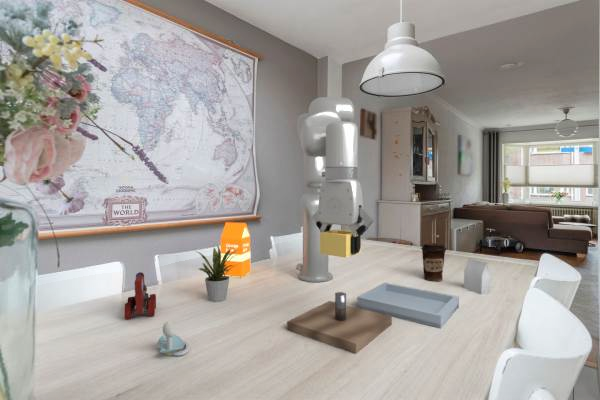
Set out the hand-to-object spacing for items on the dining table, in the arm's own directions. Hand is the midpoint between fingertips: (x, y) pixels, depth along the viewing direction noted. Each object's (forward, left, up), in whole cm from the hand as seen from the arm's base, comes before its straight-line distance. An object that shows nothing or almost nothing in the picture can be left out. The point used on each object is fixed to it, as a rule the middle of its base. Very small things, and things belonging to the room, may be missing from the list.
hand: (340, 250), depth 78 cm
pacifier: (-20, -31, -19) cm, 41 cm away
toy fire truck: (-46, -25, -19) cm, 55 cm away
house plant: (-38, -5, -19) cm, 42 cm away
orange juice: (-57, +17, -19) cm, 62 cm away
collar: (0, 0, -1) cm, 1 cm away
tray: (+8, +23, -18) cm, 30 cm away
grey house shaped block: (+20, +52, -19) cm, 59 cm away
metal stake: (0, 0, -16) cm, 16 cm away
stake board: (0, 0, -18) cm, 18 cm away
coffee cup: (+5, +57, -19) cm, 60 cm away
